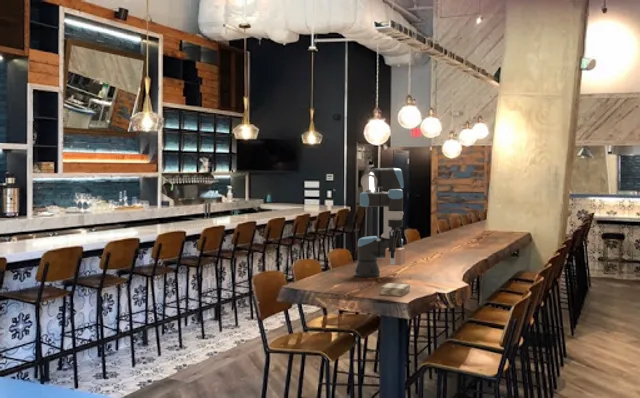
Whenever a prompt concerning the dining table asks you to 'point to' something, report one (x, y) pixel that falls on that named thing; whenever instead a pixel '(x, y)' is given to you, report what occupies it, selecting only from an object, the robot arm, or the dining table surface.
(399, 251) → the terracotta cube
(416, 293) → the dining table surface
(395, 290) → the mottled grey-green square block
